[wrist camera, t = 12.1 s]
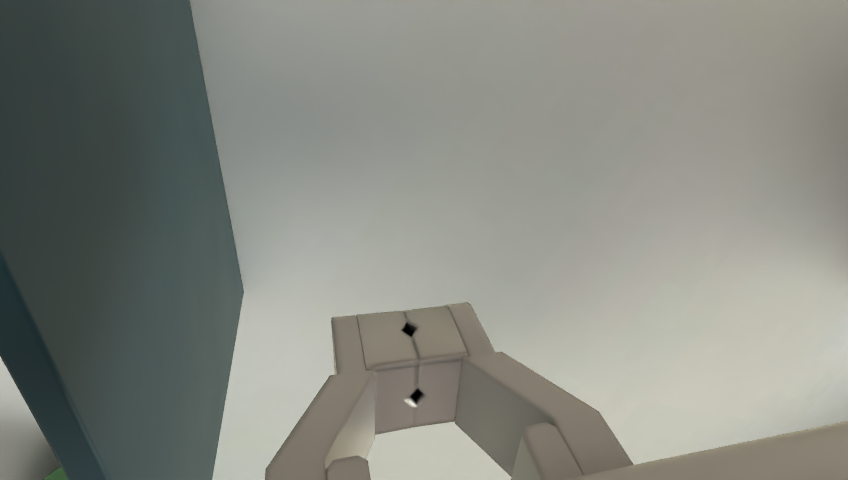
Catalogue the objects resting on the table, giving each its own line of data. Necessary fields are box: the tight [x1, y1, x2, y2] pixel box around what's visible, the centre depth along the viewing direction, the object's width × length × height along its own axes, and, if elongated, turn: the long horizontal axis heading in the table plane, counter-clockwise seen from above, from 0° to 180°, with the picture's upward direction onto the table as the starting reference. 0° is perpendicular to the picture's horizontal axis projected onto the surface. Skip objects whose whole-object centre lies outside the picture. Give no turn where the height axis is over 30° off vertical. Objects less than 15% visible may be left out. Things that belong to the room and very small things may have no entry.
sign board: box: [0, 0, 244, 480], centre depth 14 cm, size 14×14×1 cm
